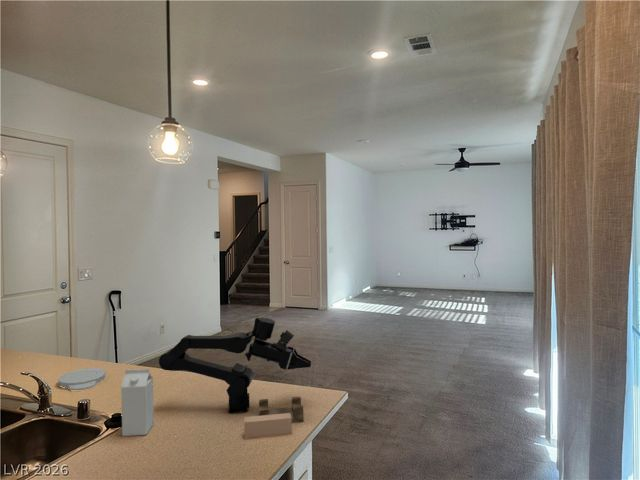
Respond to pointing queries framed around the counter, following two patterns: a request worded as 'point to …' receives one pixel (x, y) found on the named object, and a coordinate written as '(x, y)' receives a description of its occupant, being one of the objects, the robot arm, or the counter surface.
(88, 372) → the lid
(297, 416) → the bracket
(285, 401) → the counter surface
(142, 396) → the milk carton
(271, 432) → the clay bar
